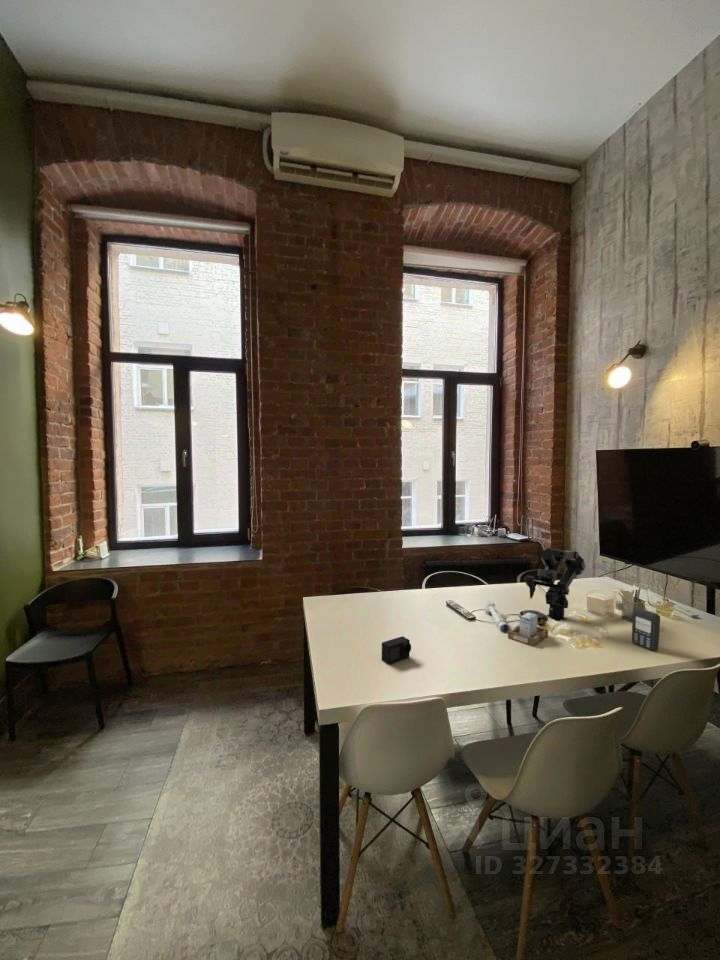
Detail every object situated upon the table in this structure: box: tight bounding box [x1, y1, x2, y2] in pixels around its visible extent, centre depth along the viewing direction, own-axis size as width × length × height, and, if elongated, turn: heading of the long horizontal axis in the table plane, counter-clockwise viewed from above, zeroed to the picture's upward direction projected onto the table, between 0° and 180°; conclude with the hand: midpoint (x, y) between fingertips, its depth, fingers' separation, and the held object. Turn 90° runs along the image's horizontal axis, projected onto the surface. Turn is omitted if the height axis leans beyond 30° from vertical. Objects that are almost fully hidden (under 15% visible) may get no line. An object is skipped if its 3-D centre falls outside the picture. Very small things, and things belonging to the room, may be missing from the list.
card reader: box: [631, 607, 661, 652], centre depth 166 cm, size 9×4×15 cm, turn 23°
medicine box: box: [519, 612, 539, 638], centre depth 174 cm, size 8×4×9 cm, turn 135°
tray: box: [507, 623, 549, 648], centre depth 174 cm, size 15×11×3 cm
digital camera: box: [381, 636, 412, 666], centre depth 152 cm, size 10×5×7 cm, turn 125°
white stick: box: [484, 600, 510, 633], centre depth 192 cm, size 5×7×25 cm
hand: (540, 600), depth 183 cm, fingers open, 9 cm apart
